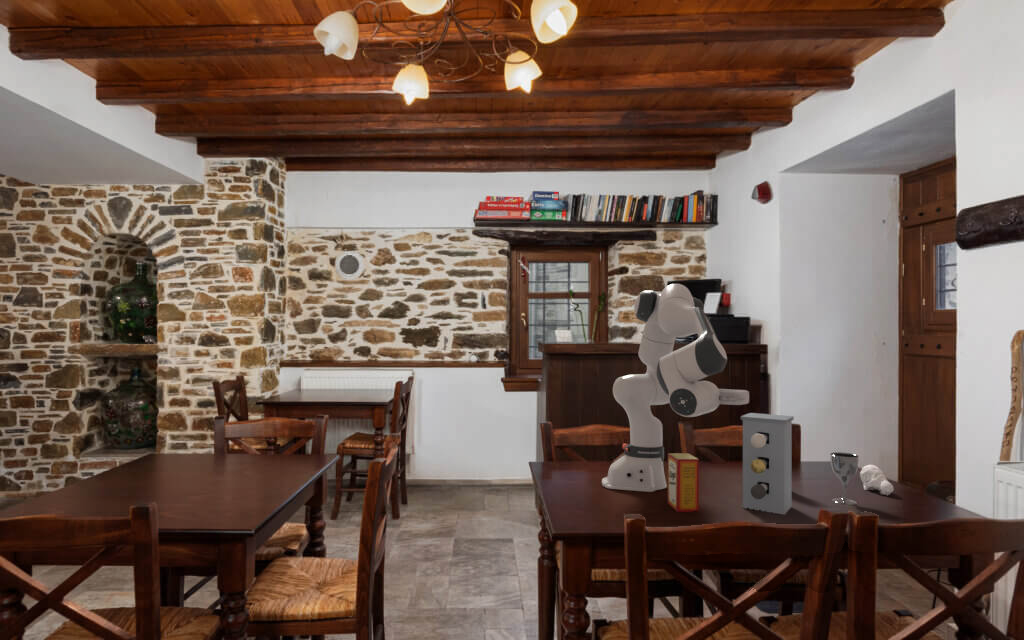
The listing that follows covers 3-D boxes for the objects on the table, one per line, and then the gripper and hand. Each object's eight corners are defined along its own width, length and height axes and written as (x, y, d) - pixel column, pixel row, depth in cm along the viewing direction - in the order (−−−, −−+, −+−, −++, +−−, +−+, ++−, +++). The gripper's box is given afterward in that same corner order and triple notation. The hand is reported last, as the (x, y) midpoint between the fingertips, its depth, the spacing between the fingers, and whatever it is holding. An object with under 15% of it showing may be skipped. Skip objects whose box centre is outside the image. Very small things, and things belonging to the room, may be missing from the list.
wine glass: (825, 498, 203) (825, 452, 203) (850, 498, 203) (850, 452, 203) (837, 504, 195) (837, 457, 195) (863, 505, 195) (863, 457, 195)
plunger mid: (764, 474, 181) (764, 460, 181) (750, 472, 183) (750, 458, 183) (772, 468, 189) (772, 455, 189) (758, 466, 191) (758, 453, 191)
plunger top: (764, 448, 181) (764, 434, 181) (750, 447, 183) (750, 433, 184) (772, 443, 189) (772, 430, 189) (758, 442, 191) (758, 429, 191)
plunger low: (764, 500, 181) (764, 486, 181) (750, 498, 183) (750, 484, 183) (772, 493, 189) (772, 480, 189) (758, 491, 191) (758, 478, 191)
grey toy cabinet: (785, 515, 183) (785, 420, 184) (740, 507, 191) (740, 416, 191) (793, 507, 192) (793, 416, 193) (750, 500, 200) (750, 412, 200)
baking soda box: (667, 503, 195) (667, 452, 196) (688, 502, 196) (688, 452, 196) (677, 511, 186) (677, 458, 186) (698, 511, 186) (698, 458, 186)
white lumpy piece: (875, 462, 217) (900, 473, 205) (873, 486, 218) (899, 499, 206) (858, 463, 216) (883, 474, 205) (857, 487, 217) (881, 499, 205)
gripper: (742, 387, 164) (755, 384, 175) (667, 383, 176) (684, 380, 187) (742, 411, 164) (755, 406, 175) (667, 405, 176) (684, 401, 187)
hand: (718, 393), depth 181 cm, fingers open, 3 cm apart
